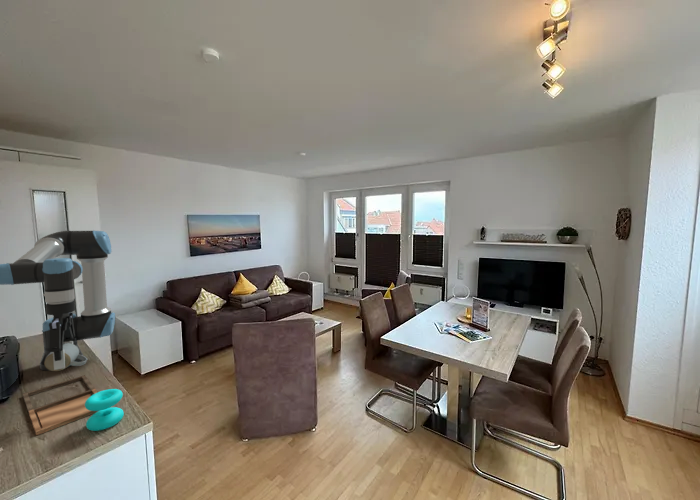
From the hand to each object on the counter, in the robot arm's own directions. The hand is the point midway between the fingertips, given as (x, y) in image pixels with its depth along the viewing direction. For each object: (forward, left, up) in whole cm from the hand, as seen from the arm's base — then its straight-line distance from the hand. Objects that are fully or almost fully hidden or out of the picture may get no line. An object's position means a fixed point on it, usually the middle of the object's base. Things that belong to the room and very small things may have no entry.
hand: (64, 363), depth 106 cm
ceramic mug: (0, +1, -2) cm, 2 cm away
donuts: (+15, +14, -18) cm, 27 cm away
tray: (-7, -3, -18) cm, 19 cm away
